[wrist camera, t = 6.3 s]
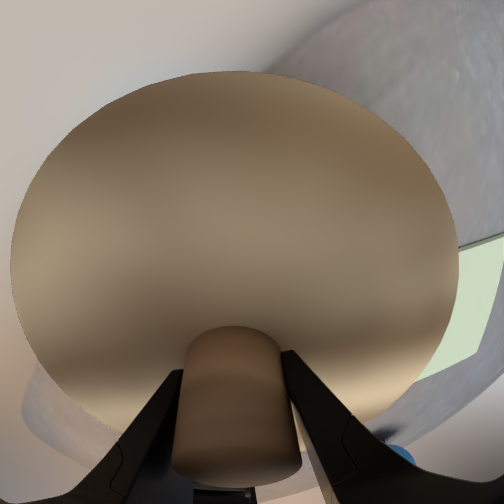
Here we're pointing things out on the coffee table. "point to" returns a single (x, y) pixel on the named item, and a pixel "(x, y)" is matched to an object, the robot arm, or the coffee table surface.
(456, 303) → the mat
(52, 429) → the coffee table surface
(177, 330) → the lid
